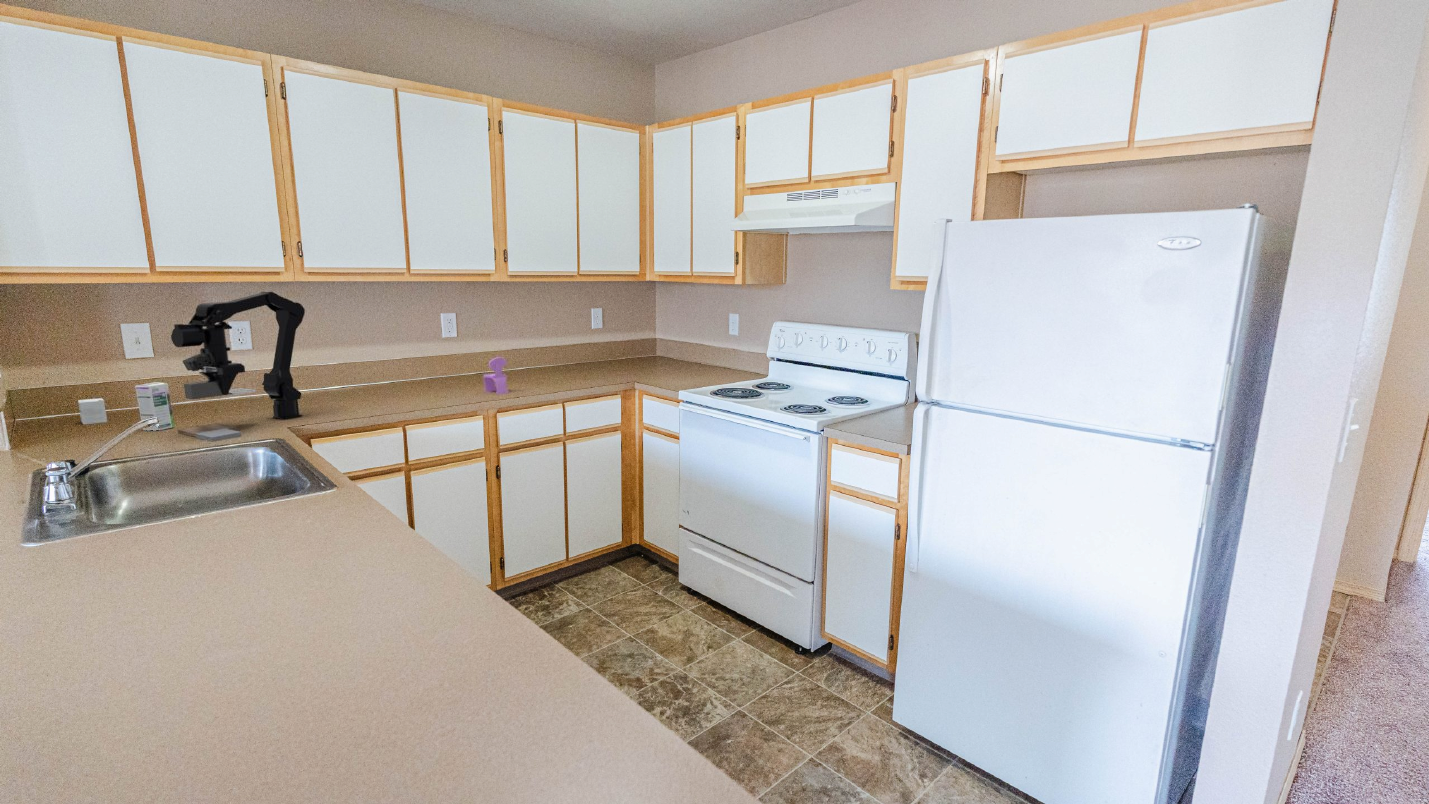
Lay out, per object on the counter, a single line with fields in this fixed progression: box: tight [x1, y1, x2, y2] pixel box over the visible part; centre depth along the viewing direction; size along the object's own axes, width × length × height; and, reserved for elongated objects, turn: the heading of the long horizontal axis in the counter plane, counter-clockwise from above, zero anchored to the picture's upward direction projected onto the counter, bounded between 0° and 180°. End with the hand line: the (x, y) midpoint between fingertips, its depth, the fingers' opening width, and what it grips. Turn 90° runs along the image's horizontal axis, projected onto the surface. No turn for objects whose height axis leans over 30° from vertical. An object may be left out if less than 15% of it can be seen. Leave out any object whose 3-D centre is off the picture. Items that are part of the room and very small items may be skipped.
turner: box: [183, 380, 257, 400], centre depth 209 cm, size 17×8×4 cm, turn 152°
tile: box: [195, 429, 242, 442], centre depth 201 cm, size 2×9×8 cm
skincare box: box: [77, 397, 108, 425], centre depth 220 cm, size 6×6×7 cm
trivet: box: [177, 422, 238, 438], centre depth 208 cm, size 11×11×1 cm
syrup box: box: [134, 381, 175, 432], centre depth 210 cm, size 6×6×14 cm
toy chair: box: [482, 356, 510, 395], centre depth 279 cm, size 8×9×15 cm
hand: (221, 394), depth 209 cm, fingers closed on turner, 4 cm apart
